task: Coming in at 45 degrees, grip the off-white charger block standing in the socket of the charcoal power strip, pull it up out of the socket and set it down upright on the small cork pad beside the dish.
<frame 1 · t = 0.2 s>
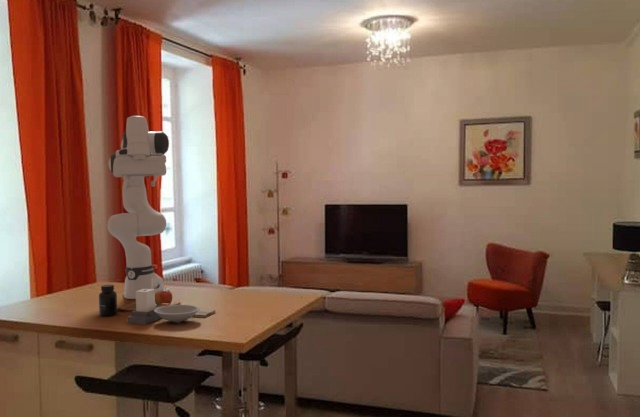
hand: (140, 186, 215), 51 cm above the breakfast bar, tool tilted 20°, fingers open, 8 cm apart
charger block: (146, 313, 210), point 2 cm above the breakfast bar, touching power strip
apple: (163, 308, 230), on the breakfast bar
cork pad: (201, 314, 216), on the breakfast bar
dish: (177, 322, 205), on the breakfast bar
supplement bottle: (108, 315, 219), on the breakfast bar
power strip: (152, 317, 214), on the breakfast bar
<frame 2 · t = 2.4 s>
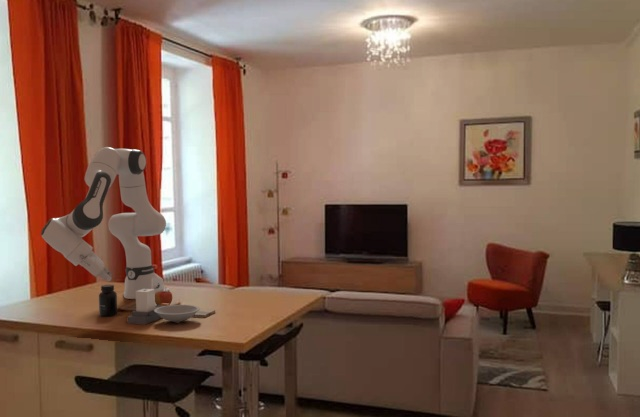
hand: (110, 278, 205), 17 cm above the breakfast bar, tool tilted 45°, fingers open, 8 cm apart
nothing on the breakfast bar moved.
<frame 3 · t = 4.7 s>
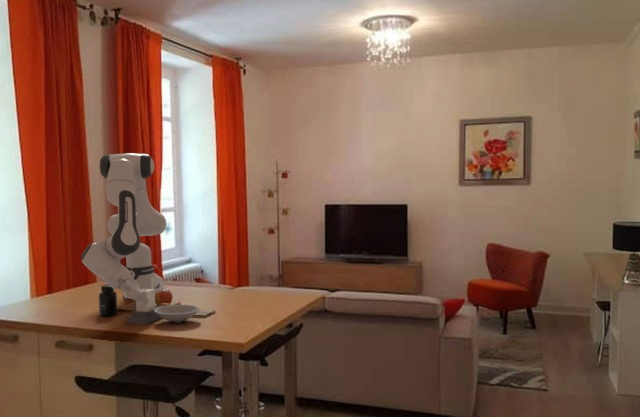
hand: (147, 300, 210), 7 cm above the breakfast bar, tool tilted 45°, fingers closed on charger block, 7 cm apart
charger block: (146, 313, 210), point 2 cm above the breakfast bar, touching gripper, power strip
everything else where it was.
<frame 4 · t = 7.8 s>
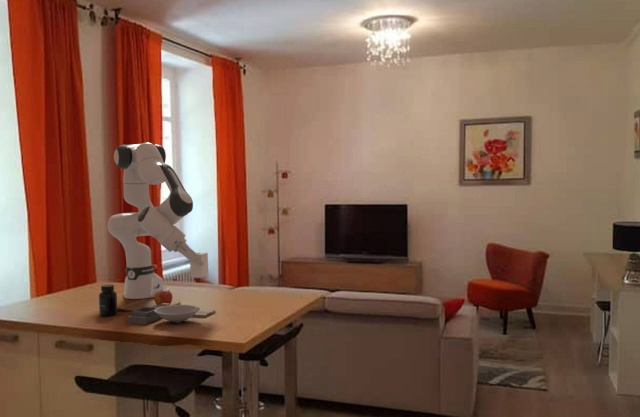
hand: (200, 263, 215), 20 cm above the breakfast bar, tool tilted 45°, fingers closed on charger block, 7 cm apart
charger block: (199, 276, 215), point 15 cm above the breakfast bar, touching gripper
everything else where it was.
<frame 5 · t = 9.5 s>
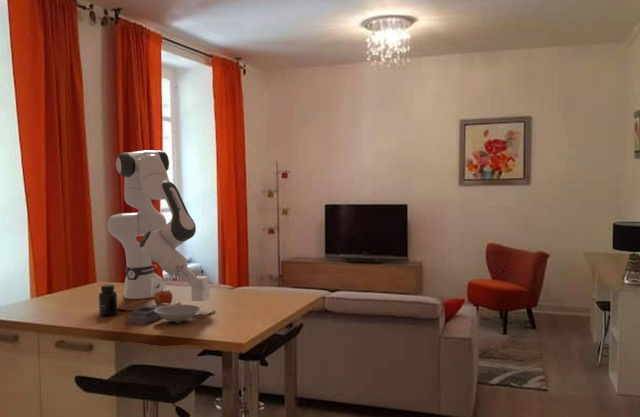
hand: (201, 287, 216), 11 cm above the breakfast bar, tool tilted 45°, fingers closed on charger block, 7 cm apart
charger block: (200, 299, 216), point 6 cm above the breakfast bar, touching gripper
everything else where it was.
when the fingers open (7 cm above the breakfast bar, at t = 10.8 s): charger block drops 1 cm, resting on cork pad.
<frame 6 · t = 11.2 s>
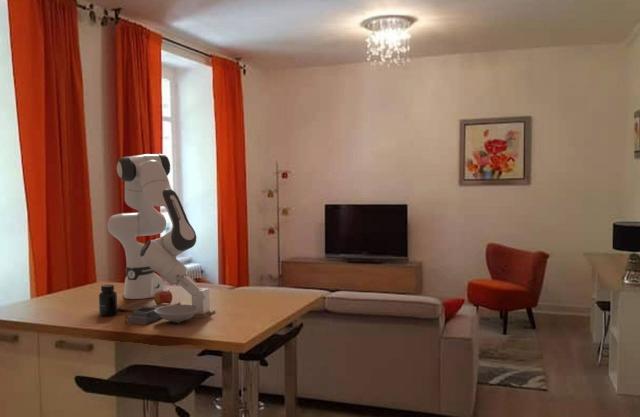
hand: (202, 296, 216), 7 cm above the breakfast bar, tool tilted 45°, fingers open, 8 cm apart
charger block: (201, 311, 216), point 1 cm above the breakfast bar, touching cork pad
everything else where it was.
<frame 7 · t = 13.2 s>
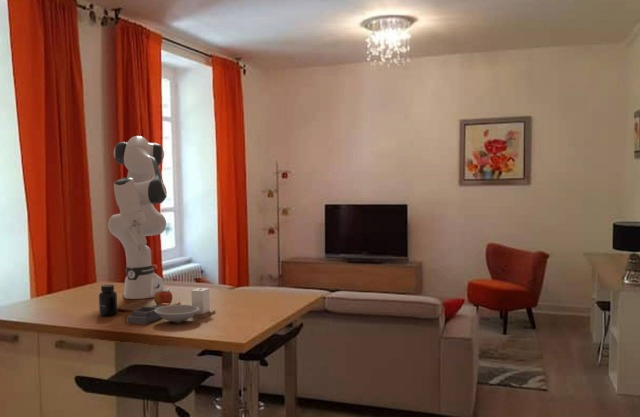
hand: (142, 252, 215), 25 cm above the breakfast bar, tool pointing down, fingers open, 8 cm apart
nothing on the breakfast bar moved.
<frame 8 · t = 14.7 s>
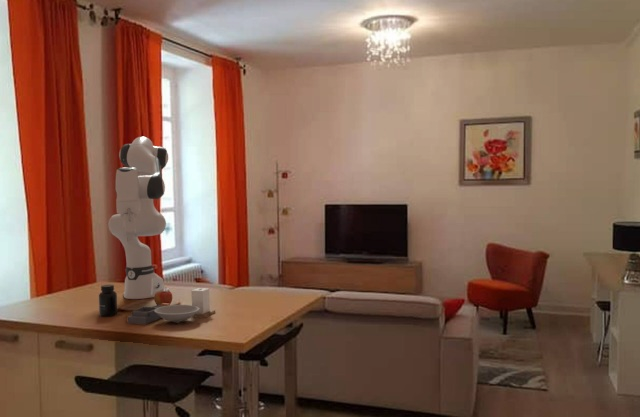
hand: (130, 243, 215), 29 cm above the breakfast bar, tool pointing down, fingers open, 8 cm apart
nothing on the breakfast bar moved.
at the end: charger block inside the target area on the cork pad (0.1 cm from its centre), point 1.0 cm above the cork pad's base; charger block tilted 0°; the gripper is holding nothing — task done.
